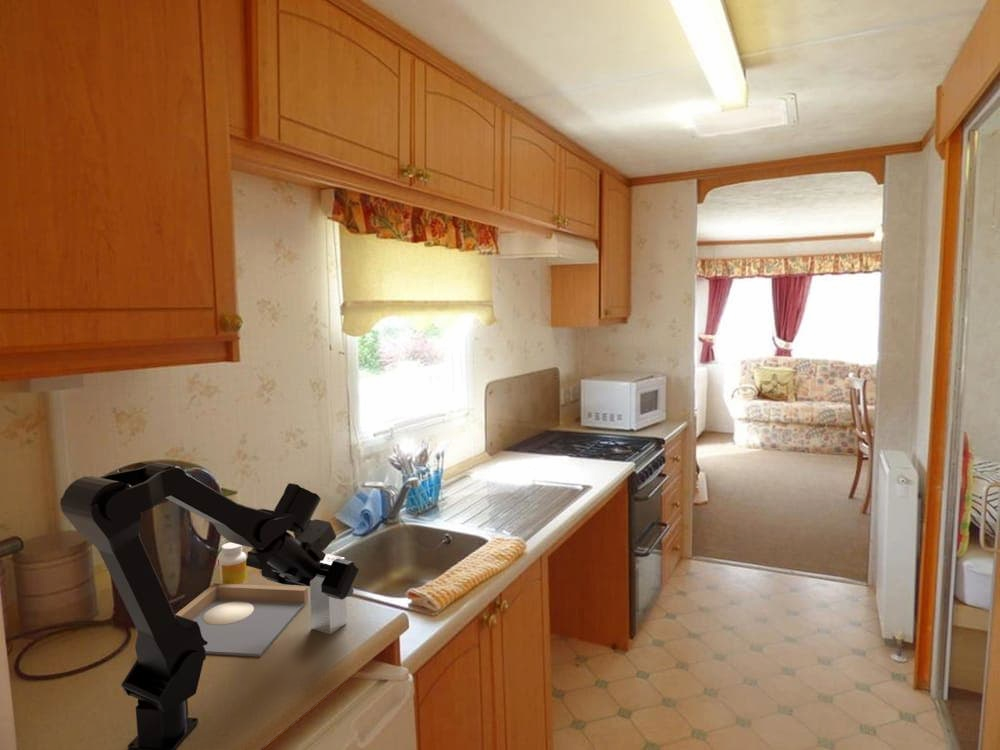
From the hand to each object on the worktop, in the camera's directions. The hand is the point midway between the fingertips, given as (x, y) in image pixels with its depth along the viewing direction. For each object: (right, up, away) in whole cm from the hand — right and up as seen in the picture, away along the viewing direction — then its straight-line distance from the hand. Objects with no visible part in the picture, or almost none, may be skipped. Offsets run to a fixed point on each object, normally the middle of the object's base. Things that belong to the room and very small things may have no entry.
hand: (332, 588), depth 115 cm
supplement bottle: (-25, -6, +15) cm, 30 cm away
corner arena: (-19, -7, 0) cm, 20 cm away
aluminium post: (-1, -7, 0) cm, 7 cm away
